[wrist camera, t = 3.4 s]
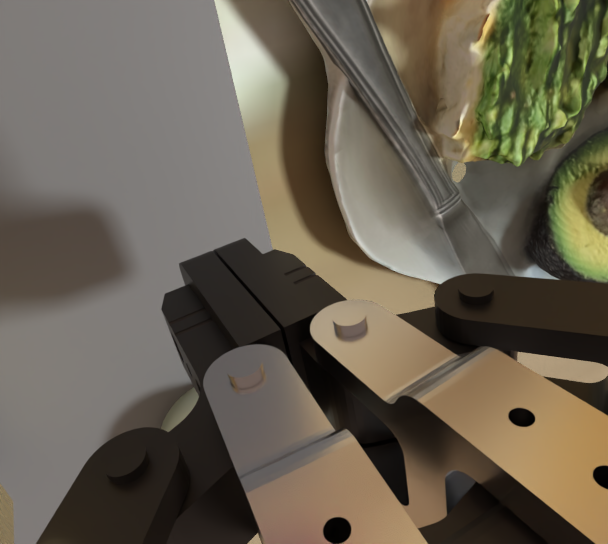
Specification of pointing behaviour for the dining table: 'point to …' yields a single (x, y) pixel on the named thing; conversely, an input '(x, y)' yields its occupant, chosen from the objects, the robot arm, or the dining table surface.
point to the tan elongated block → (6, 518)
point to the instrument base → (105, 223)
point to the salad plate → (469, 133)
